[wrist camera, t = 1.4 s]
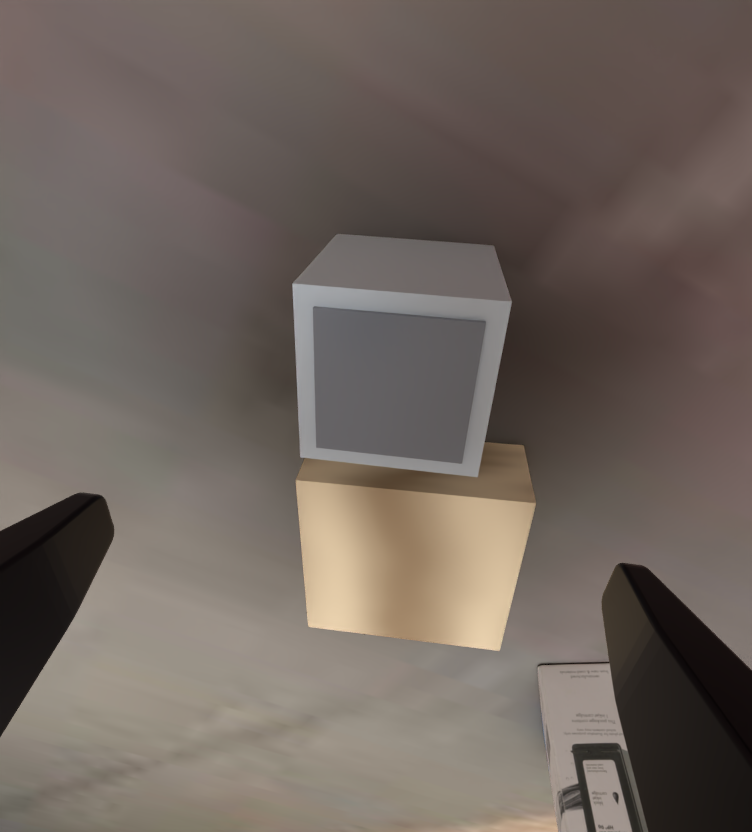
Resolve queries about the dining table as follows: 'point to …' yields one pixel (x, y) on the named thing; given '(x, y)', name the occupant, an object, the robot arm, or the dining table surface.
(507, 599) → the beige square block
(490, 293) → the gray paneled cube
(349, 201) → the dining table surface
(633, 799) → the ink box
